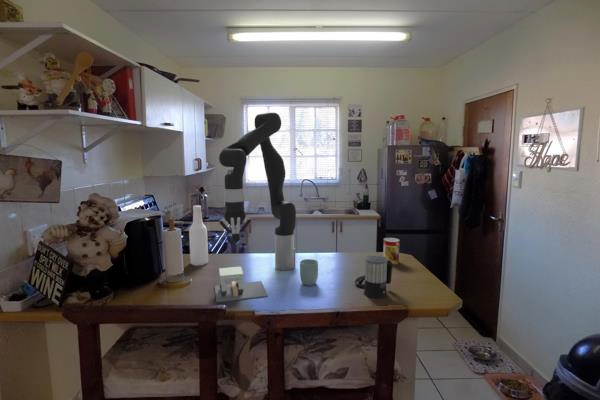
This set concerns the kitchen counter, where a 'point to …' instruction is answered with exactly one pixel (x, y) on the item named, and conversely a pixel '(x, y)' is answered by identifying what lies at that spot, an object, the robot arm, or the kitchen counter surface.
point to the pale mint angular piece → (229, 274)
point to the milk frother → (376, 276)
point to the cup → (309, 271)
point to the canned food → (391, 250)
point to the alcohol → (198, 239)
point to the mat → (249, 292)
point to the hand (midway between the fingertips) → (235, 242)
